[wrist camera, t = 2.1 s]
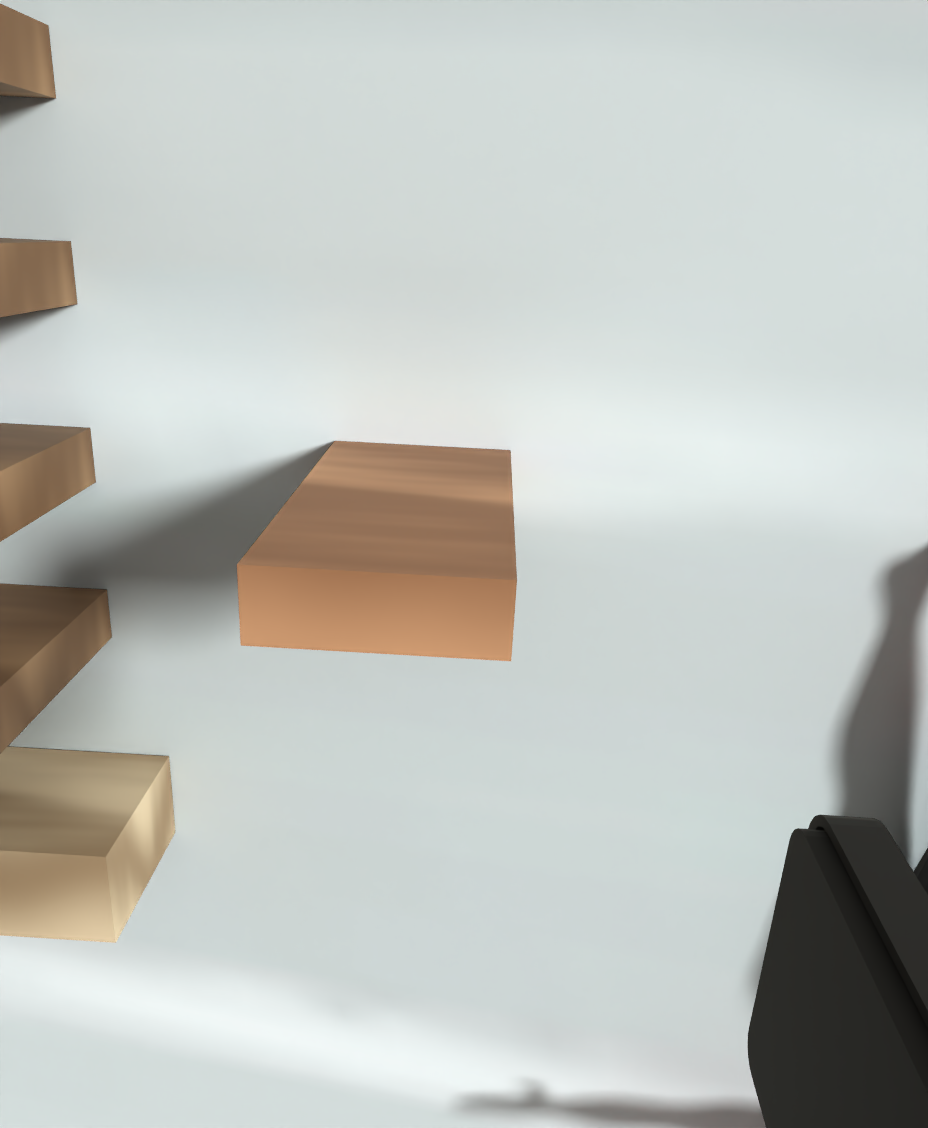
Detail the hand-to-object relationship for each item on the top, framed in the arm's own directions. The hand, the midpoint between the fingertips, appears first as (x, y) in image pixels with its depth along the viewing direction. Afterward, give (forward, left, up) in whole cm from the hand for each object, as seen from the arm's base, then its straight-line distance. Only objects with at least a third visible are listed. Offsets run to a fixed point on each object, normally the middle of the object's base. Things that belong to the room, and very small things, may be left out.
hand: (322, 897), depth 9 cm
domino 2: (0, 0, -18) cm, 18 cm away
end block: (-17, +1, -18) cm, 24 cm away
